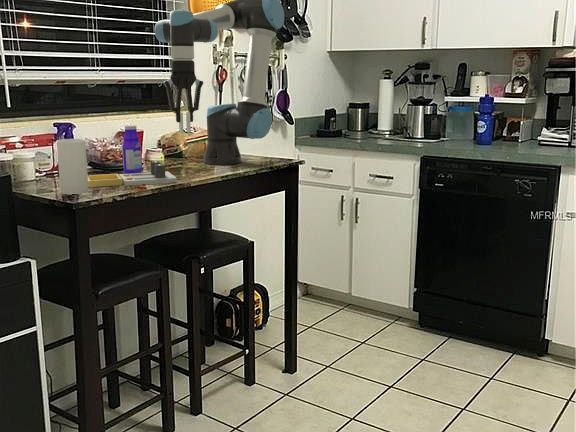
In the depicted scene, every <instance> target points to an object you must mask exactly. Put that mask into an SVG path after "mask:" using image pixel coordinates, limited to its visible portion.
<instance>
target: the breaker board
mask: <svg viewBox="0 0 576 432" xmlns="http://www.w3.org/2000/svg"><path fill="white" fill-rule="evenodd" d="M118 175H119V176H120V177H121V178H122V185H124V186H125V187H126V186H127V187H128V186H139V185H140V186H141V185H142V186H143V184H145V185H155V184H157V183H160V184H170V183H169V182H176V183H178V178H177V177H176V176H175V175H174V174H172V173H171V172H169V171H166V170H165V177H162V178H156V177H155V174H151V171H150V172H141V173H131V174H125V173H119V174H118Z"/></svg>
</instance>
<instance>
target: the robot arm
mask: <svg viewBox="0 0 576 432" xmlns="http://www.w3.org/2000/svg"><path fill="white" fill-rule="evenodd" d="M284 24H285V11H284V7H283V5H282V3H281V1H280V0H231V1H228V2H225V3H222V4H219V5H217V6H216V8H213V9H210V10H204V11H201V12H197V13H194V12H193V11H191V10H185V9H184V10H183V9H174V10H171V12H170V13H169V19H162V20H158V21H157V22H156V23H155V25H154V30H153V31H154V35H155V37H156V39H157V41H159V42H160V43H166V44H169V43H170V59H172V60H171V62H170V64H171V66H170V67H171V73H170V74H171V75H170V77H169V79H166V80H164V81H163V82H162V83H163V85H164V87H165V88H166V95H167V100H168V105H169V110H170V111H172V112H174V113H175V121H176V123H178V125H179V126H178V129H179V131H178V132H179V133H184V112H181V109H182V107H181V106H182V92H183V89H184V90H185V96H186V104H187V111H186V112H185V116H186V117H185V118H186V119H185V121H186V123H185V124H186V126H185V127H186V132H187V133H191V132H192V131H191V127H192V126H191V123H193V122H194V112H195V111H199V107H200V99H201V93H202V88H203V85H204V81H203V80H201V79H198V78H197V76H196V72H195V71H196V70H195V61H194V59H195V43H212V42H214V41H215V40H216V39H217V37H218V34H219V30H224V31H228V30H235V29H236V30H246V31H245V32H246V33H247V35H248V37H249V39H248V46H247V55H246V65H245V71H244V72H245V73H244V79H243V80H244V81H243V90H242V97H241V99H239V100H238V101H237V104H236V103H225V104H215V105H210V106H208V107H207V109H206V128H207V129H206V132H207V136H206V137H207V143H206V144H207V145H206V147H205V151H204V154H203V163H204V164H206V165H207V164H208V165H215V166H216V165H222V166H223V165H225V166H226V165H236V164H240V163H241V162H242V154H241V153H240V149H239V147H238V141H237V139H238V138H242V139H249V140H257V139H258V140H259V139H263V138H265V137H266V136H267V135H268V133H269V132H270V130H271V127H272V123H273V117H272V113H271V112H272V111H270V110H269V109H268V104H267V102H266V101H265V99H266V98H265V97H266V91H267V90H266V89H267V81H268V72H269V67H270V66H269V65H270V58H271V48H272V40H273V38H275V37H276V36H277V31H278V30H279V29H281V28H282V27H283V26H284ZM172 84H173V85H174V86H175V91H176V92H175V100H174V96H173V90H172V87H171V86H172ZM194 84H195V91H194V98H193V96H192V86H193V85H194ZM193 99H194V100H193Z"/></svg>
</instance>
